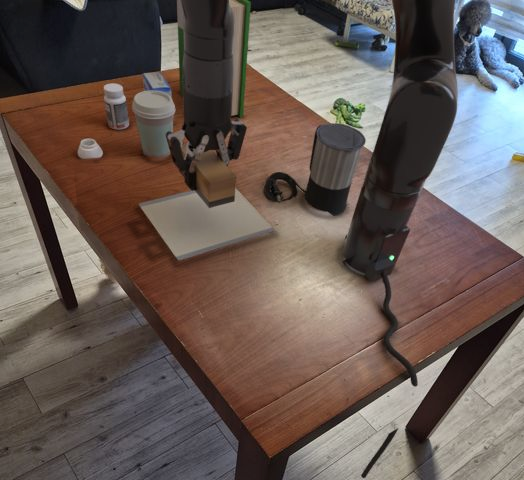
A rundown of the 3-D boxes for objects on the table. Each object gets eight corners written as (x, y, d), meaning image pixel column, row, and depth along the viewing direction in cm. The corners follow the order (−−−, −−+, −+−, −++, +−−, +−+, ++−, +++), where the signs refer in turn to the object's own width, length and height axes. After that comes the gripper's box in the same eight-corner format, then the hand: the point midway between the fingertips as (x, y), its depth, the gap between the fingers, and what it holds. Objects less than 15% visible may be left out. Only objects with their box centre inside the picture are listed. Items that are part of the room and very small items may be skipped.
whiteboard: (274, 235, 90) (275, 230, 89) (178, 265, 82) (178, 260, 81) (229, 186, 98) (229, 180, 97) (138, 209, 90) (138, 203, 89)
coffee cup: (182, 163, 101) (180, 107, 92) (142, 168, 99) (136, 110, 89) (171, 143, 106) (168, 87, 96) (133, 147, 103) (126, 90, 94)
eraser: (234, 201, 82) (236, 175, 78) (209, 208, 80) (209, 182, 76) (203, 165, 88) (203, 140, 84) (178, 171, 86) (177, 145, 82)
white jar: (80, 163, 98) (105, 160, 99) (77, 149, 95) (102, 147, 97) (76, 150, 100) (100, 148, 102) (73, 137, 98) (98, 135, 99)
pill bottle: (131, 121, 110) (127, 84, 103) (126, 131, 107) (121, 93, 100) (111, 118, 110) (105, 80, 103) (105, 128, 107) (99, 90, 100)
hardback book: (242, 117, 117) (250, 2, 98) (218, 123, 114) (221, 6, 95) (204, 87, 125) (204, -25, 106) (180, 92, 121) (176, -22, 102)
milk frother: (355, 211, 97) (376, 142, 86) (293, 231, 91) (306, 160, 79) (315, 175, 104) (330, 107, 92) (255, 191, 98) (262, 120, 86)
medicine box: (145, 111, 114) (141, 72, 107) (163, 109, 115) (160, 71, 108) (154, 127, 109) (151, 88, 103) (173, 125, 111) (171, 86, 104)
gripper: (174, 102, 66) (178, 206, 79) (261, 88, 71) (251, 187, 85) (152, 79, 69) (160, 182, 83) (237, 68, 75) (231, 165, 88)
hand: (206, 184), depth 84 cm, fingers closed on eraser, 5 cm apart
